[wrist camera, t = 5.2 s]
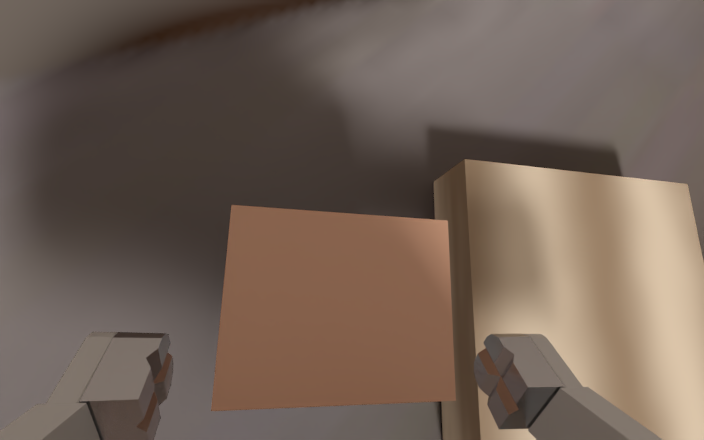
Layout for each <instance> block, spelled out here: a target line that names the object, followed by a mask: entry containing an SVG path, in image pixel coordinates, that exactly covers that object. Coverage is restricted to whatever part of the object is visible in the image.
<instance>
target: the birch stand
mask: <svg viewBox="0 0 704 440" xmlns="http://www.w3.org/2000/svg"><path fill="white" fill-rule="evenodd" d="M434 210H435V220H447V221H448V234H449V257H450V279H451V302H452V324H453V347H454V369H455V392H456V401H441V406H442V434H443V440H537V439H536V438H535V437H534V436H533V435H532V434H531V433H530V432H529V431H528V429H498V426H497V424H496V422H495V420H494V418H493V416H492V414H491V412H490V410H489V407H488V405H487V402H488V397H489V396H488V395H486V394H485V393H484V392H483V391H482V390H481V389H480V388H479V386H478V384H477V381H476V379H475V375H474V361H475V358H476V356H477V354H478V353H479V352H481V351H482V350H483V349H485V345H484V341H485V339H486V337H487V336H489V335H490V334H520V333H522V334H542V335H544V336H545V337H546V338H547V339H548V340H549V341H550V343H551V344H552V345H553V347H554V348H555V349H556V351H557V352H558V354H559V355H560V356H561V358H562V359H563V360H564V362H565V363H566V364H567V366H568V367H569V368H570V370H571V371H572V373H573V374H574V375H575V377H576V378H577V379H578V381H579V382H580V383H581V385H582V386H583V387H589V388H590V389H592V390H593V391H595V392H596V393H597V394H599V395H600V396H602V397H603V398H604V399H606V400H607V401H609V402H610V403H612V404H613V405H614V406H616V407H617V408H619V409H620V410H622V411H623V412H624V413H626V414H627V415H629V416H630V417H631V418H633V419H634V420H636V421H637V422H639V423H640V424H641V425H643V426H644V427H646V428H647V429H648V430H650V431H651V432H653V433H654V434H656V435H657V436H658V437H660V438H661V439H663V440H704V262H703V257H702V252H701V247H700V243H699V238H698V233H697V228H696V223H695V218H694V214H693V209H692V204H691V199H690V194H689V189H688V184H682V183H673V182H664V181H655V180H646V179H637V178H629V177H620V176H611V175H602V174H593V173H584V172H575V171H567V170H558V169H549V168H540V167H531V166H522V165H513V164H505V163H496V162H487V161H478V160H469V159H464V160H463V161H461V162H460V163H458V164H457V165H456V166H454V167H453V168H452V169H450V170H449V171H448V172H446V173H445V174H444V175H442V176H441V177H439V178H438V179H437V180H435V181H434Z"/></svg>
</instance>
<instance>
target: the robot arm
mask: <svg viewBox="0 0 704 440" xmlns="http://www.w3.org/2000/svg"><path fill="white" fill-rule="evenodd" d="M484 345H485V349H483V350H482V351H481V352H479V353H478V354H477V356H476V358H475V361H474V375H475V379H476V381H477V384H478V386H479V388H480V389H481V390H482V391H483V392H484V393H485V394H486V395H488V396H489V397H488V402H487V405H488V407H489V410H490V412H491V414H492V416H493V418H494V420H495V422H496V424H497V426H498V429H528V431H529V432H530V433H531V434H532V435H533V436H534V437H535V438H536V439H537V440H663V439H661V438H660V437H658V436H657V435H656V434H654V433H653V432H651V431H650V430H648V429H647V428H646V427H644V426H643V425H641V424H640V423H639V422H637V421H636V420H634V419H633V418H631V417H630V416H629V415H627V414H626V413H624V412H623V411H622V410H620V409H619V408H617V407H616V406H614V405H613V404H612V403H610V402H609V401H607V400H606V399H604V398H603V397H602V396H600V395H599V394H597V393H596V392H595V391H593V390H592V389H590V388H589V387H583V386H582V385H581V383H580V382H579V381H578V379H577V378H576V377H575V375H574V374H573V373H572V371H571V370H570V368H569V367H568V366H567V364H566V363H565V362H564V360H563V359H562V358H561V356H560V355H559V354H558V352H557V351H556V349H555V348H554V347H553V345H552V344H551V343H550V341H549V340H548V339H547V338H546V337H545V336H544V335H542V334H522V333H520V334H490V335H489V336H487V337H486V339H485V341H484ZM169 346H170V339H169V334H166V333H132V332H92V333H91V334H90V335H89V336H88V337H87V338H85V340H84V342H83V343H82V345H81V347H80V348H79V350H78V351H77V353H76V355H75V356H74V358H73V360H72V361H71V363H70V365H69V366H68V368H67V370H66V371H65V373H64V375H63V376H62V378H61V379H60V381H59V383H58V384H57V386H56V388H55V389H54V391H53V393H52V394H51V396H50V398H49V399H48V401H47V402H46V404H37V405H35V406H34V407H33V408H31V409H30V410H28V411H27V412H26V413H24V414H23V415H21V416H20V417H19V418H17V419H16V420H15V421H13V422H12V423H10V424H9V425H8V426H6V427H5V428H3V429H2V430H1V431H0V440H154V437H155V434H156V431H157V428H158V425H159V422H160V419H161V416H160V411H159V405H160V404H161V403H162V402H163V401H164V400H165V399H167V396H168V393H169V389H170V386H171V381H172V375H173V358H172V356H171V355H170V354H169V353H168V349H169Z"/></svg>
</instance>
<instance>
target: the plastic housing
mask: <svg viewBox="0 0 704 440" xmlns="http://www.w3.org/2000/svg"><path fill="white" fill-rule="evenodd" d="M438 401H456V392H455V369H454V347H453V324H452V302H451V279H450V257H449V234H448V221H447V220H433V219H420V218H406V217H392V216H378V215H365V214H351V213H337V212H323V211H309V210H296V209H282V208H268V207H254V206H240V205H231V215H230V225H229V236H228V246H227V256H226V266H225V276H224V286H223V296H222V306H221V316H220V327H219V337H218V347H217V357H216V367H215V377H214V387H213V397H212V407H211V411H225V410H249V409H272V408H296V407H320V406H343V405H367V404H391V403H414V402H438Z"/></svg>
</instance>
